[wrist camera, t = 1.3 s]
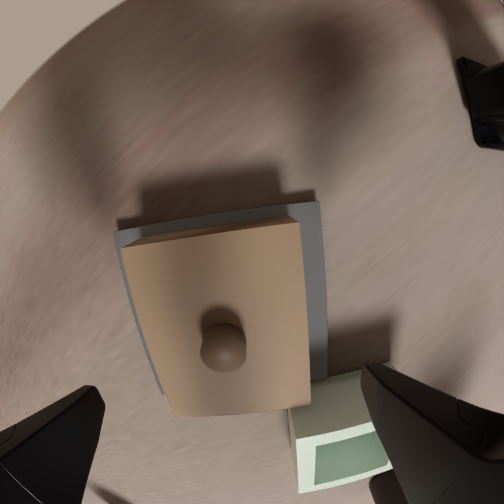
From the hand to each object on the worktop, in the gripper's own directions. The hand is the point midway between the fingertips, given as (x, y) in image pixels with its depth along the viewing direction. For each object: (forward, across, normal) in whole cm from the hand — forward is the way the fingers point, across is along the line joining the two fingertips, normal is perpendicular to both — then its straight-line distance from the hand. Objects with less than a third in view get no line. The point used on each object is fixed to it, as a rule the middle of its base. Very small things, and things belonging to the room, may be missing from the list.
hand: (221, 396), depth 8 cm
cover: (+6, 0, 0) cm, 6 cm away
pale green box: (+7, -6, +9) cm, 13 cm away
